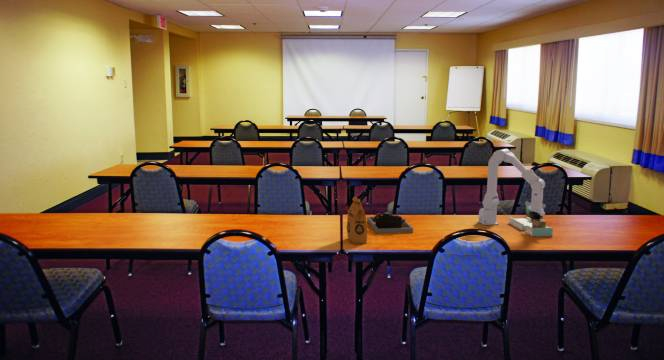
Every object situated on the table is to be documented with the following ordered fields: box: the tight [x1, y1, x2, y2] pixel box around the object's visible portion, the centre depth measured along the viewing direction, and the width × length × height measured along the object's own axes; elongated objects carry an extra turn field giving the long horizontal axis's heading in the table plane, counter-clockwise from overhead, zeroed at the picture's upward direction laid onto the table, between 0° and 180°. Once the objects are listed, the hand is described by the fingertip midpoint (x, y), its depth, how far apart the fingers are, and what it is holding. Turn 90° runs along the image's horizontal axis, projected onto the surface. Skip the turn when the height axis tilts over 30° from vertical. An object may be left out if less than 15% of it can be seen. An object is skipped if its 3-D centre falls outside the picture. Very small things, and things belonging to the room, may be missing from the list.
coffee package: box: [346, 196, 368, 245], centre depth 260 cm, size 10×12×22 cm
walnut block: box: [531, 218, 547, 228], centre depth 276 cm, size 5×5×5 cm
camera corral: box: [366, 216, 414, 235], centre depth 289 cm, size 20×26×2 cm
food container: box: [524, 200, 547, 220], centre depth 306 cm, size 12×6×10 cm, turn 42°
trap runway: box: [508, 216, 554, 237], centre depth 285 cm, size 11×27×4 cm, turn 8°
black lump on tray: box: [373, 211, 406, 229], centre depth 284 cm, size 18×12×10 cm
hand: (534, 225), depth 280 cm, fingers closed
